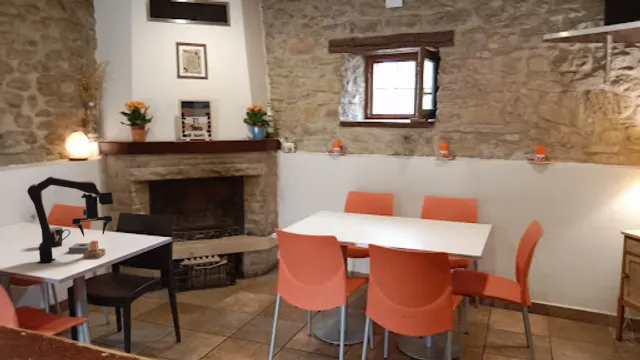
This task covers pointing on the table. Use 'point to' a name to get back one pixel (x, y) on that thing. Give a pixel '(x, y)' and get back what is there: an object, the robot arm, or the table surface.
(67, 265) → the table surface
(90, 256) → the tan flat square block
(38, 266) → the table surface
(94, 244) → the peg
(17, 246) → the table surface
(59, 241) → the coffee mug
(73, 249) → the port
